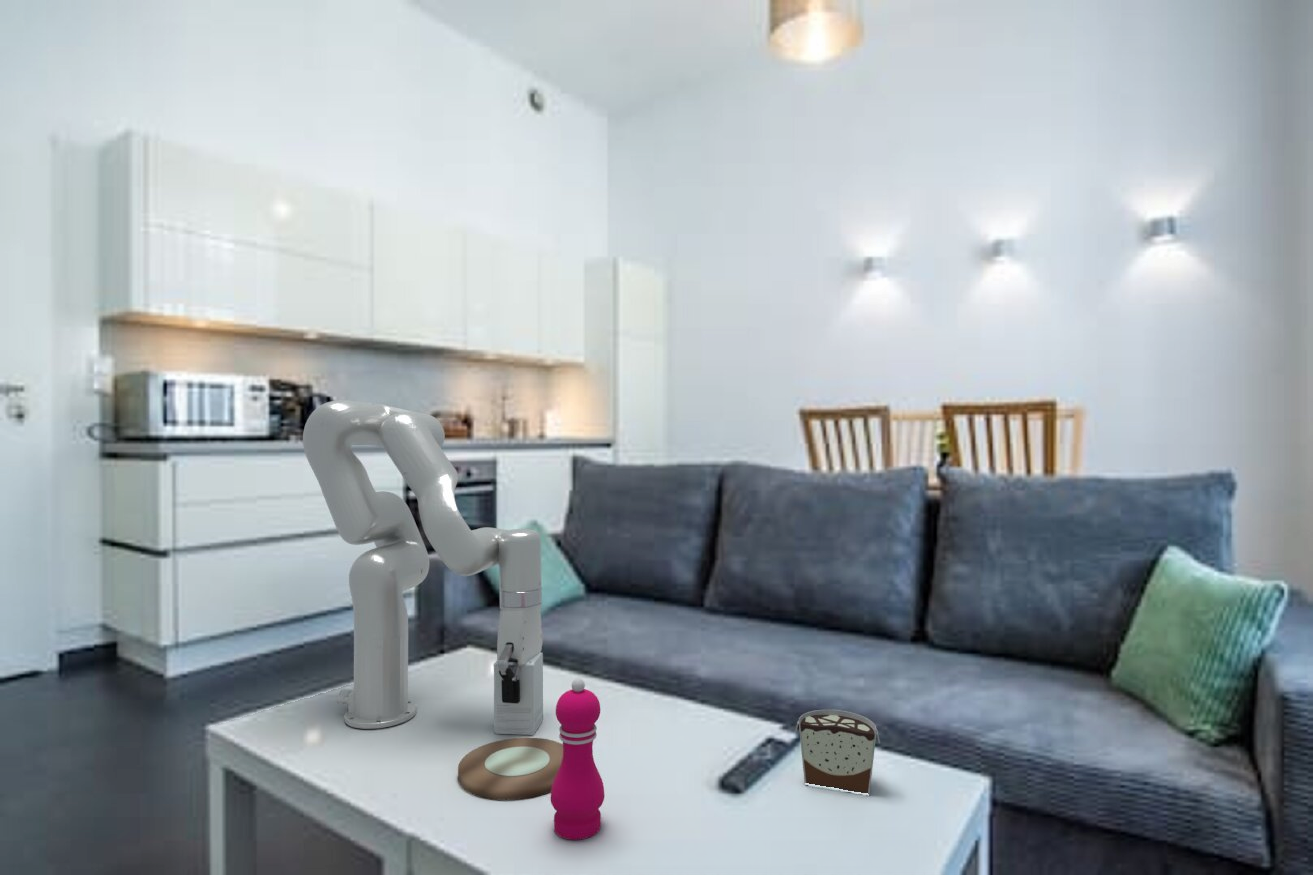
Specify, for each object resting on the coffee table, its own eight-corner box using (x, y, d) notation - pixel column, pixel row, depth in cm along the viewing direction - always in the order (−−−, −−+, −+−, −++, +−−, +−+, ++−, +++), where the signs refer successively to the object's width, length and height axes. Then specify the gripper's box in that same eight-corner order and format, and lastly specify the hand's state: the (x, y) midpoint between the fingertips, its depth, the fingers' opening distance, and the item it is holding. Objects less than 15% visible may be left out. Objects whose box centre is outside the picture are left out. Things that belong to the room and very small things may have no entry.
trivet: (435, 791, 105) (435, 780, 105) (491, 741, 123) (491, 731, 123) (549, 807, 101) (549, 795, 101) (590, 752, 119) (590, 742, 119)
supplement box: (544, 719, 132) (544, 651, 132) (533, 736, 125) (533, 664, 125) (505, 718, 133) (505, 650, 133) (492, 734, 126) (493, 662, 126)
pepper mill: (552, 814, 99) (552, 670, 99) (604, 812, 100) (604, 669, 100) (548, 843, 92) (549, 688, 92) (604, 841, 93) (605, 687, 93)
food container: (881, 778, 110) (881, 714, 110) (879, 797, 104) (880, 729, 104) (800, 766, 114) (800, 704, 114) (794, 783, 108) (795, 718, 108)
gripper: (521, 587, 138) (523, 676, 138) (479, 608, 122) (481, 709, 122) (557, 588, 137) (559, 678, 137) (520, 610, 120) (522, 712, 120)
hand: (522, 692), depth 129 cm, fingers open, 9 cm apart
